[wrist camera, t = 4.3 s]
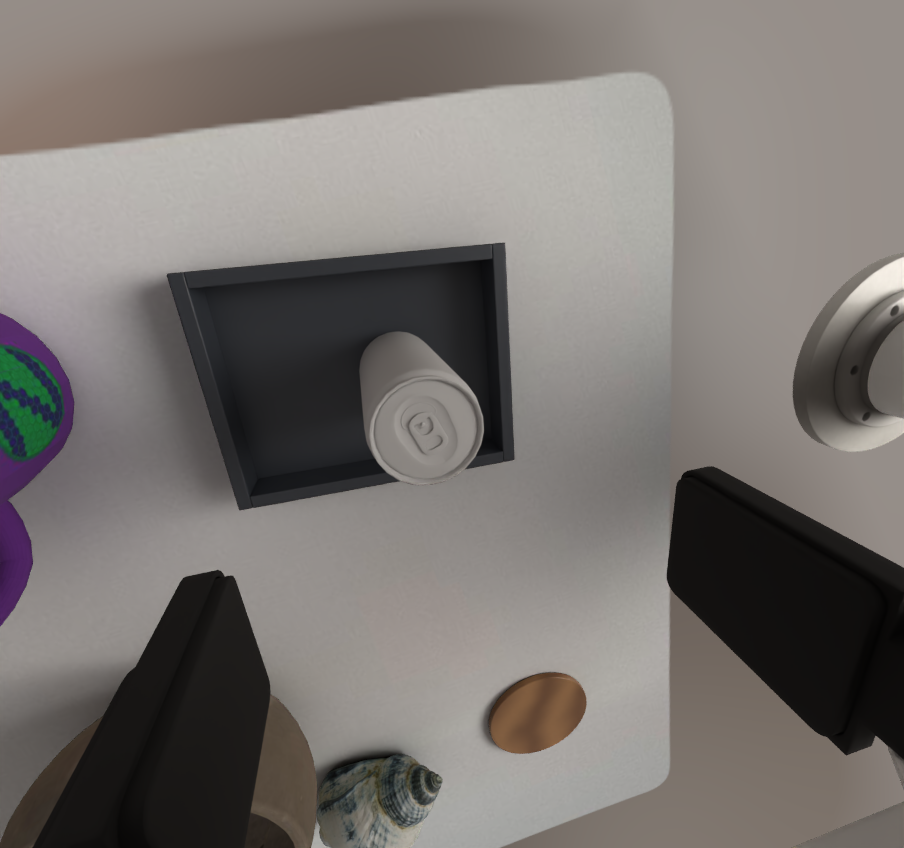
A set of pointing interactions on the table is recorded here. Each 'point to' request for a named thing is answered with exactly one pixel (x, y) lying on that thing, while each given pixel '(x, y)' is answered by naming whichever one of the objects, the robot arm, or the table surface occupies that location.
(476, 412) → the beverage can
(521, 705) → the copper pad
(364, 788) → the seashell
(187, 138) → the table surface
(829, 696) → the robot arm
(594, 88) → the table surface
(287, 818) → the bowl
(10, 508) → the mug
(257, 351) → the tray
